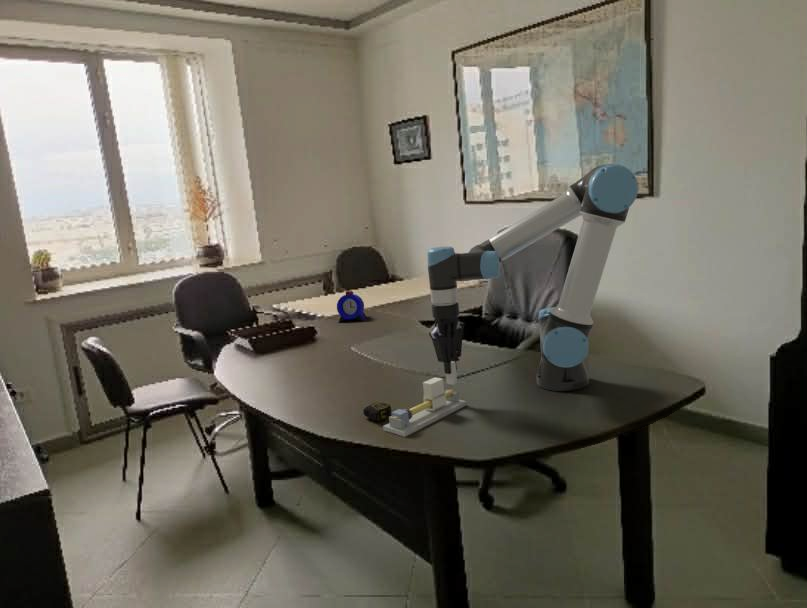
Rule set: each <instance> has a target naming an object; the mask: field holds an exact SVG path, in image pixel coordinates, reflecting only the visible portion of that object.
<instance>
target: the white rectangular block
mask: <svg viewBox="0 0 807 608" xmlns="http://www.w3.org/2000/svg"><path fill="white" fill-rule="evenodd" d="M422 389H423V397H422V398H423V403H424V402H426V401H428V400H432V406H431V407H429V408H427V409H426V410H430V411H434V412H435V411H437V410H439V409H441V408H443V407H445V406H447V405H446V395H445V393H444V391H445V386H444V379H443V378H440V377H435V376H434V377H432V378H430V379H428V380H426V381H423V382H422Z"/></svg>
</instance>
